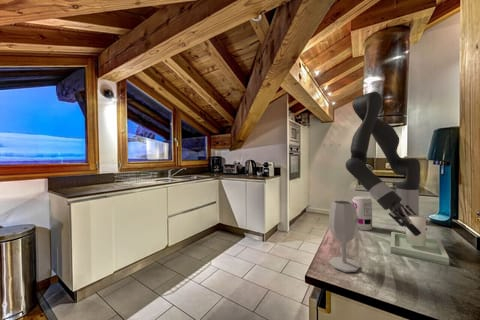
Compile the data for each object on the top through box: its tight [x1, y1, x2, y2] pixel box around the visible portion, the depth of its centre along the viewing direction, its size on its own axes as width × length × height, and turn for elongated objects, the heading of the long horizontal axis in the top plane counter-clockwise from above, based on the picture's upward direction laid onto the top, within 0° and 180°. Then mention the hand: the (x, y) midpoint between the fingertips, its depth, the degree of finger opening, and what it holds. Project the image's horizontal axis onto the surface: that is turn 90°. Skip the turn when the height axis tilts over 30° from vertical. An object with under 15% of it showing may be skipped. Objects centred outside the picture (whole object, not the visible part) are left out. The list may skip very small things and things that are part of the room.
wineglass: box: [328, 199, 361, 273], centre depth 66 cm, size 9×9×21 cm
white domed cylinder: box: [405, 214, 427, 246], centre depth 76 cm, size 6×6×10 cm
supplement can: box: [351, 195, 373, 231], centre depth 99 cm, size 8×8×15 cm
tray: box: [390, 231, 450, 267], centre depth 76 cm, size 17×15×2 cm
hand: (421, 232), depth 74 cm, fingers closed on white domed cylinder, 5 cm apart
